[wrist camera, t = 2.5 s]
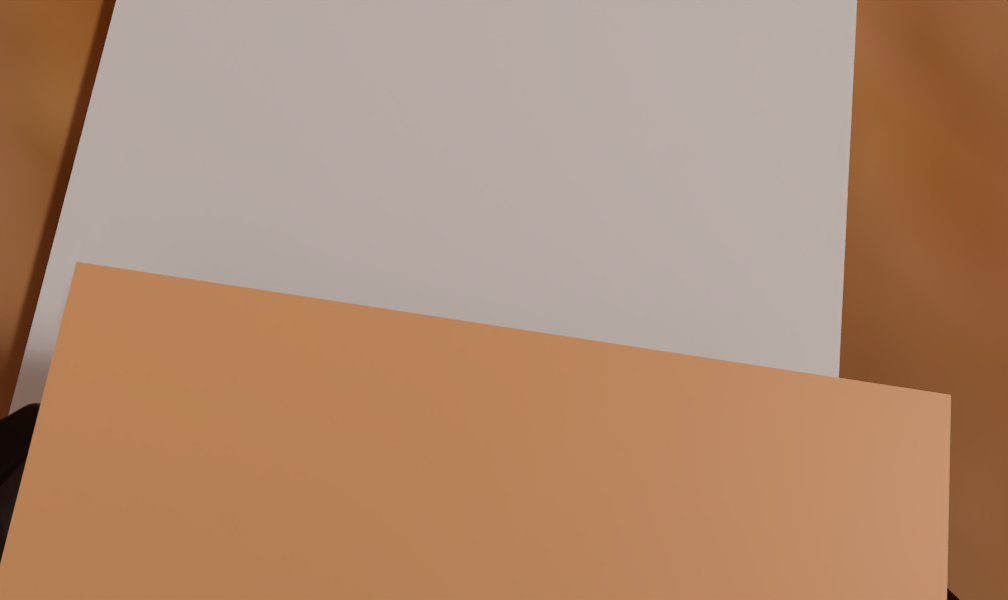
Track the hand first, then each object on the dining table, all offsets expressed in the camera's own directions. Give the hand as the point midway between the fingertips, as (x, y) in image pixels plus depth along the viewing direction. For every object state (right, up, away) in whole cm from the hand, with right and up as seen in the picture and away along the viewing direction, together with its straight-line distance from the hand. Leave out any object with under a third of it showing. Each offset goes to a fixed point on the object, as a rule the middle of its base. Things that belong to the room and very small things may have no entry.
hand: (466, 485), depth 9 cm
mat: (0, +7, +10) cm, 12 cm away
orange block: (-1, -1, +8) cm, 8 cm away
